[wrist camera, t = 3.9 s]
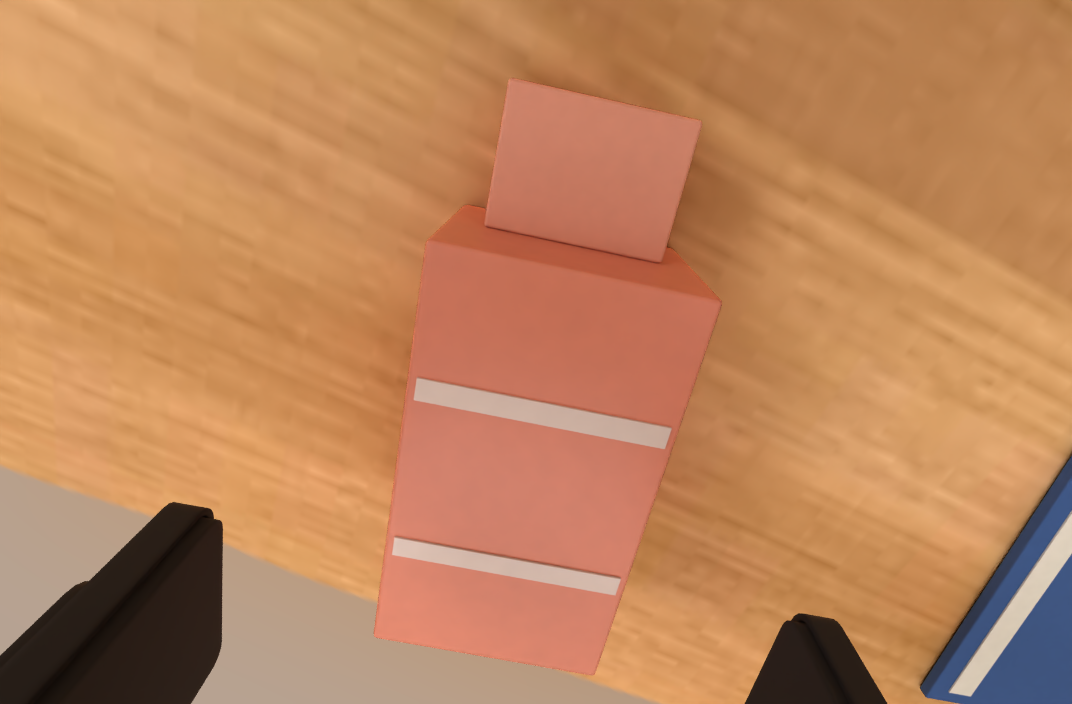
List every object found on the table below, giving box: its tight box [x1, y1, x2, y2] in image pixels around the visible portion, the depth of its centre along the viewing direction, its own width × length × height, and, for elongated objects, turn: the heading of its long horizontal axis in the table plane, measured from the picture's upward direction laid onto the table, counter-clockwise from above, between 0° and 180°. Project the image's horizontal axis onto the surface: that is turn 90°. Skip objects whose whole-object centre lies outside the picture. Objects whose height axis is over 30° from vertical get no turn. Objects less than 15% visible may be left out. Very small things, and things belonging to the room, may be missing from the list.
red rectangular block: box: [374, 78, 722, 675], centre depth 14 cm, size 13×6×5 cm, turn 168°
